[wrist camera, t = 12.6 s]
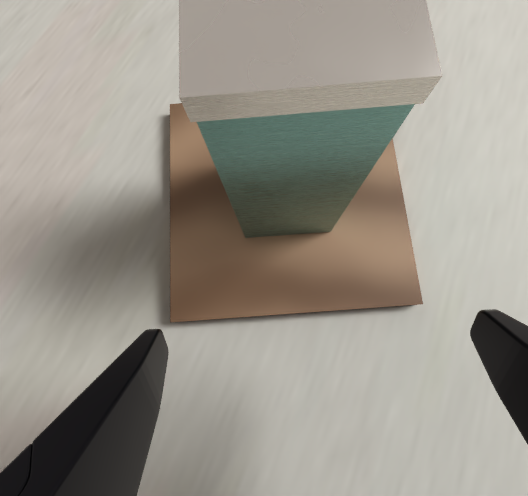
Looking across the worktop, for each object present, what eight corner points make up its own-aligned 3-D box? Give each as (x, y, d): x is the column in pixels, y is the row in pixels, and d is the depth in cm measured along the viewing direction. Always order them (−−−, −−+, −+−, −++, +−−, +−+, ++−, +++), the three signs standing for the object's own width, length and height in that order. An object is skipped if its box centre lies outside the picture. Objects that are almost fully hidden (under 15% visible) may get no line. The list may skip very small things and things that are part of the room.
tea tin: (332, 233, 18) (442, 75, 6) (243, 239, 18) (179, 97, 6) (323, 152, 19) (400, -116, 7) (239, 158, 19) (178, -94, 7)
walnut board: (410, 305, 18) (422, 303, 17) (178, 321, 18) (170, 322, 17) (375, 102, 21) (383, 86, 20) (177, 118, 21) (170, 104, 20)
